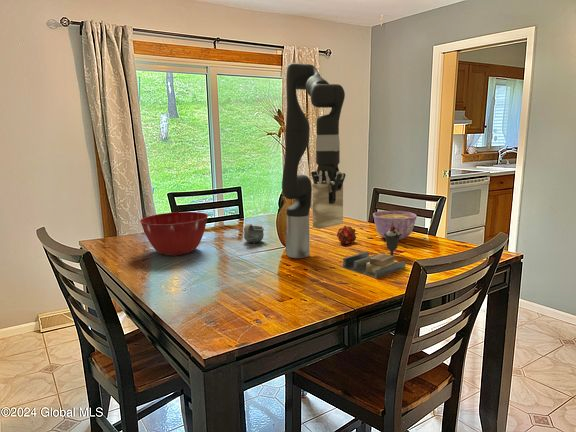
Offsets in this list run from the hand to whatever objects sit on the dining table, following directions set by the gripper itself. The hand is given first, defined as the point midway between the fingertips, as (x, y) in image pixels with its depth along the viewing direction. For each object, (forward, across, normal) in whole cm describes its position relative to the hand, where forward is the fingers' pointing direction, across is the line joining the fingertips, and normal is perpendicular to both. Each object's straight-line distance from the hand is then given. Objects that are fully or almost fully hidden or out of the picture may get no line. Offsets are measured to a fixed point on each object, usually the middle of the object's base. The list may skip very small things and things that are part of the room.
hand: (327, 202), depth 136 cm
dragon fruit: (+27, -31, +43) cm, 59 cm away
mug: (+27, -61, +12) cm, 68 cm away
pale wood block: (+8, 0, 0) cm, 8 cm away
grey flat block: (+26, +7, +20) cm, 33 cm away
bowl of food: (+27, -22, +66) cm, 74 cm away
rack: (+27, +2, +20) cm, 34 cm away
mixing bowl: (+27, -72, -21) cm, 80 cm away
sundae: (+27, -2, +38) cm, 46 cm away
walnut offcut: (+23, +7, +19) cm, 31 cm away
